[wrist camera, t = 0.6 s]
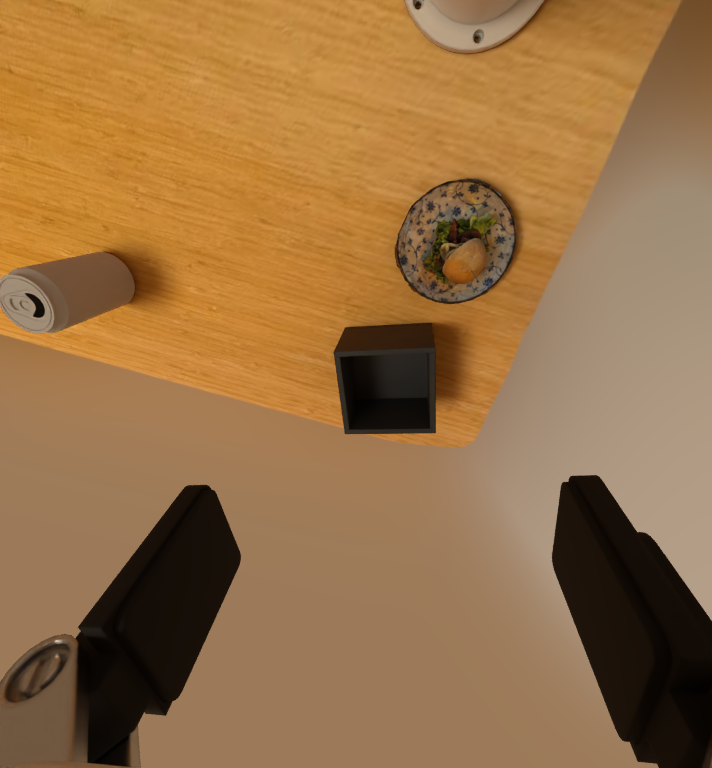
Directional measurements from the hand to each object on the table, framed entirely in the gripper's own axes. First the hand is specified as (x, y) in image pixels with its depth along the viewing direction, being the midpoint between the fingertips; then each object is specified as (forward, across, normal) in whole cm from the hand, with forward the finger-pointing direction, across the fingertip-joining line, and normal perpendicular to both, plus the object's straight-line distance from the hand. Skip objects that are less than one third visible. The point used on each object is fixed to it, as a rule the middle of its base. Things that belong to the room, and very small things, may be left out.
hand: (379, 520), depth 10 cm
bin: (+35, +2, +11) cm, 36 cm away
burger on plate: (+35, -6, -2) cm, 35 cm away
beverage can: (+35, +35, -4) cm, 49 cm away
